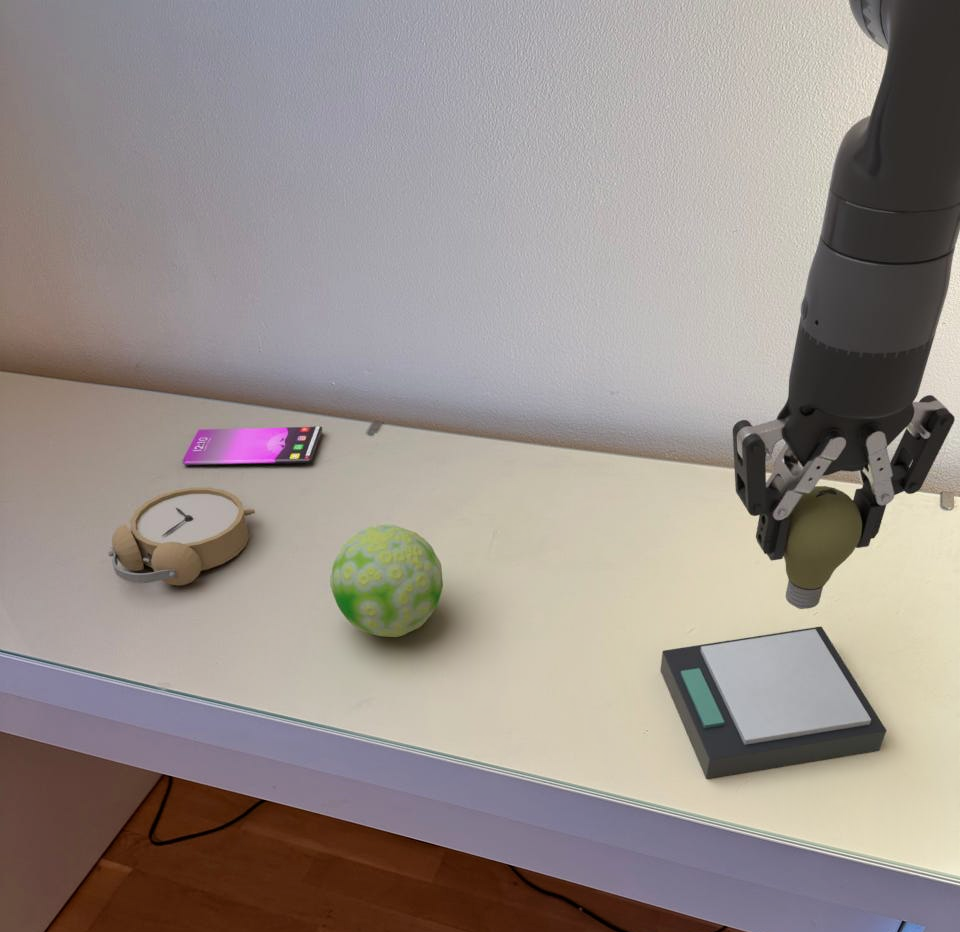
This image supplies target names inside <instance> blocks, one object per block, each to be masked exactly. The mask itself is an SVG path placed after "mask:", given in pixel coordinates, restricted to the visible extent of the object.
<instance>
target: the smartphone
mask: <svg viewBox="0 0 960 932" xmlns="http://www.w3.org/2000/svg"><path fill="white" fill-rule="evenodd" d="M322 432H323V426H287V427H246V428H243V427H242V428H240V427H239V428H208V429H207V428H206V429H205V428H203V429H201V428H200V429H198V430H197V432H196V433H195V435H194V437H193V439H192V441H191V443H190V445H189V446H188V448H187V451H185V455H184V456H183V458H182V460H181V461H182V464H183V466H220V465H221V466H224V465H225V466H226V465H233V466H234V465H277V464H278V465H280V464H281V465H282V464H310V463H311V462H312V460H313V457H314V455H315V452H316V449H317V447H318V443H319V441H320V438H321V434H322Z"/></svg>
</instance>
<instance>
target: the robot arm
mask: <svg viewBox="0 0 960 932" xmlns="http://www.w3.org/2000/svg"><path fill="white" fill-rule="evenodd" d="M848 3H849V8H850V11H851V13H852V16H853V18H854V20H855V21H856V23H857V25H858V27H859V29H861V31H862V32H863V34H865V36H866V37H868V38H869V39H870V40H871V41H872V42H873V43H875V44H876V45H877V46H879V47H881V49H883V50H885V51H886V52H887V54H886V60H885V65H884V70H883V73H882V77H881V80H880V84H879V86H878V90H877V94H876V96H875V99H874V103H873V106H872V109H871V112H870V115H868V116H866V117H863V118H861V119H860V120H859V121H857V122H855V123H854V124H853V125H852V126H851V127H850V128H849V129H848V131H847V132H846V133H845V134H844V136H843V137H842V140H841V142H840V144H839V148H838V150H837V152H836V156H835V159H834V163H833V167H832V171H831V177H830V181H829V187H828V193H827V198H826V203H825V208H824V214H823V219H822V225H821V231H820V234H819V239H818V244H817V247H816V249H815V253H814V255H813V259H812V260H811V261H812V262H811V264H810V268H809V271H808V274H807V275H808V276H807V280H806V284H805V285H806V286H805V292H804V296H803V298H802V301H801V304H800V316H799V317H800V318H799V323H798V327H797V328H798V329H797V334H796V340H795V345H794V350H793V355H792V361H791V366H790V370H789V376H788V377H789V378H788V395H787V396H788V397H787V400H786V402H785V404H784V406H783V407H782V408H781V410H780V411H779V412H778V415H777V417H776V418H775V419H773V420H770V421H766V422H763V423H760V424H756V425H753V424H751V422H750V421H749V420H747V419H741V420H738V421H737V422H736V423H735V424H734V425H733V427H732V445H733V446H732V447H733V464H734V465H733V466H734V483H735V484H734V485H735V493H736V495H737V496H738V498H739V499H740V501H741V502H742V504H743V506H744V507H745V509H746V510H747V512H748V514H749V515H750V516H753V517H757V516H758V522H757V526H756V527H757V528H756V533H755V539H756V542H757V544H758V545H759V547H760V549H761V550H762V552H763V554H765V555H767V557H768V558H769V560H770V561H778V560H783V559H784V556H783V555H784V551H785V546H786V541H787V536H788V532H789V527H790V522H791V518H790V516H789V515H790V513H791V512H792V510H793V509H794V507H795V506H796V504H797V503H798V501H799V500H800V498H801V497H802V496H803V495H804V494H806V495H807V494H809V493H810V492H811V491H812V490H813V488H814V487H815V486H817V484H818V482H819V481H820V480H821V478H822V477H823V476H824V477H825V476H830V475H832V474H835V473H839V472H851V473H853V472H858V476H859V477H858V478H859V480H860V483H861V485H862V486H861V488H860V487H859V488H856V489H855V491H854V496H853V499H852V500H853V501H854V502H855V504H856V506H857V507H858V510H859V512H860V515H861V520H862V532H861V537H860V540H859V542H858V544H857V546H856V548H855V549H861V548H862V549H863V548H867V547H869V546H870V544H871V540H873V539H875V538H876V536H877V535H878V534H879V532H880V528H881V525H882V521H883V518H884V514H885V511H886V508H887V505H888V504H890V503H891V502H892V501H893V500H894V498H895V496H896V495H899V494H901V493H903V492H904V493H906V494H908V495H912V494H916V493H917V492H918V491H919V490H921V488H922V487H923V485H924V483H925V480H926V478H927V476H928V475H929V473H930V471H931V469H932V467H933V465H934V463H935V461H936V459H937V457H938V454H939V453H940V451H941V449H942V447H943V445H944V443H945V441H946V439H947V437H948V435H949V433H950V431H951V428H953V425H954V423H955V420H956V418H955V416H954V415H953V413H951V412H950V411H949V409H948V408H947V407H946V406H945V405H944V404H943V403H942V402H941V401H940V400H938V399H937V397H935V396H934V395H932V394H928V395H925V396H923V397H922V398H921V399H920V400H919V401H915V400H916V398H918V397H917V396H918V395H919V391H920V388H921V385H922V382H923V377H924V375H925V371H926V367H927V364H928V360H929V357H930V354H931V351H932V346H933V344H934V340H935V336H936V334H937V328H938V325H939V322H940V319H941V315H942V312H943V309H944V305H945V302H946V298H947V294H948V290H949V287H950V281H951V273H952V266H953V258H954V254H955V251H956V245H957V243H958V239H959V235H960V0H848ZM903 431H904V432H903ZM902 432H903V435H902V436H901V439H900V440H899V443H898V445H897V448H895V449H896V450H895V452H894V453H893V456H892V458H891V460H890V457H889V451H888V447H889V446H890V444H892V443H893V441H894V440H895V439H897V438H898V437H899V435H900V434H901V433H902ZM781 440H783V441H784V442H785V444H784V445H783V447H782V449H781V450H780V452H779V453H778V454H777V456H776V458H775V460H774V462H773V471H772V472H771V474H770V475H769V477H768V479H767V473H766V471H767V469H766V468H767V467H766V462H769V461H771V460H772V459H773V455H772V454H773V452H774V448H775V446H776V444H777V443H778V442H780V441H781ZM799 463H800V465H801V466H802V469H801V468H800V466H799Z"/></svg>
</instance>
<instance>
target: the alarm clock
mask: <svg viewBox="0 0 960 932" xmlns="http://www.w3.org/2000/svg"><path fill="white" fill-rule="evenodd" d="M255 511H256V510H255V509H254V508H247V509H244V505H243V502H242V500H241V499H240V498H238V496H236V494H233V493H231V492H230V491H226V490H224V489H220V488H213V487H187V488H181V489H174V490H172V491H169V492H165V493H163V494H159V495H157V496H155V497H153V498H151V499H150V500H148V501H146V502H144V503H143V504H142V505H141V506H140V507H138V508H137V509H136V510H135V511H134V513H133V514H132V516H131V518H130V520H129V527H128V525H127V524H122V525H120V526H119V527H117V528H116V529H115V530H114V531H113V534H112V537H111V546H112V547H110V549H111V550H109V551H107V553H108V556H109V557H111V564H112V566H113V570H114V573H115V575H116V576H117V577H119V578H121V579H122V580H124V581H125V582H130V583H137V584H145V583H146V584H147V583H153V582H157V581H163V582H164V583H166V584H169V585H172V586H185V585H188V584H190V583H192V582H194V581H195V580H196V579H197V578H198V577H199V576H200V573H201V571H206V570H210V569H213V568H215V567H218V566H220V565H223V564H225V563H226V562H228V561H230V560H231V559H232V560H233V558H235V557H236V556H238V555H239V554H240V552H241V551H243V549H244V548H245V547H246V546H247V543H248V540H249V538H250V534H249V529H248V524H247V522H246V516H250V515H253V514H255V513H256V512H255ZM118 563H120V564H121V566H122V567H124V568H125V569H127V570H128V571H126V570H124V569H122V568H121V567H119V566H118ZM144 565H146V566H147V567H150V568H151V569H152V570H153V571H151V572H146V573H145V572H143V573H139V572H138V571H143V570H144V567H145V566H144ZM130 571H133V572H130ZM134 571H135V572H134ZM137 572H138V573H137Z"/></svg>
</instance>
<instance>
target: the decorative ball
mask: <svg viewBox="0 0 960 932" xmlns="http://www.w3.org/2000/svg"><path fill="white" fill-rule="evenodd" d="M329 577H330V579H329V581H330V582H329V583H330V589H331V592H332V595H333V598H334V600H335V603H336V606H337V607H338V609H339V610H340V612H341V613H342V615H343V616H344V617H345V619H347V621H348V622H349V623H350V624H351V625H352V626H353V627H354V628H355V629H356V630H358V631H360V632H363V633H367V634H370V635H372V636H378V637H388V638H399V637H402V636H405V635H406V634H408V633H411V632H413V631H414V630H417V629H419V628H421V627H422V626H423V625H424V624H425V623H426V621H428V619H430V617H431V616H432V615H433V614H434V612H435V611H436V608H437V607H438V604H439V602H440V598H441V595H442V590H443V587H444V583H443V582H444V581H443V568H442V563H441V560H440V559H439V557H438V556H437V554H436V552H435V550H434V548H433V546H432V545H431V544H430V543H429V542H428V541H427V540H426V539H425V538H424V537H422V536H421V535H420V534H419V533H417V532H415V531H412V530H409V529H406V528H403V527H400V526H398V525H395V524H380V525H376V526H369V527H367V528H363V529H362V530H360V531H359V532H357V533H356V534H355V535H353V536H352V537H350V538H349V539H348V540H346V542H345V543H344V544H343V546H342V547H341V549H340V551H339V552H338V555H337V556H336V558H335V560H334V561H333V563H332V567H331V573H330V576H329Z"/></svg>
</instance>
